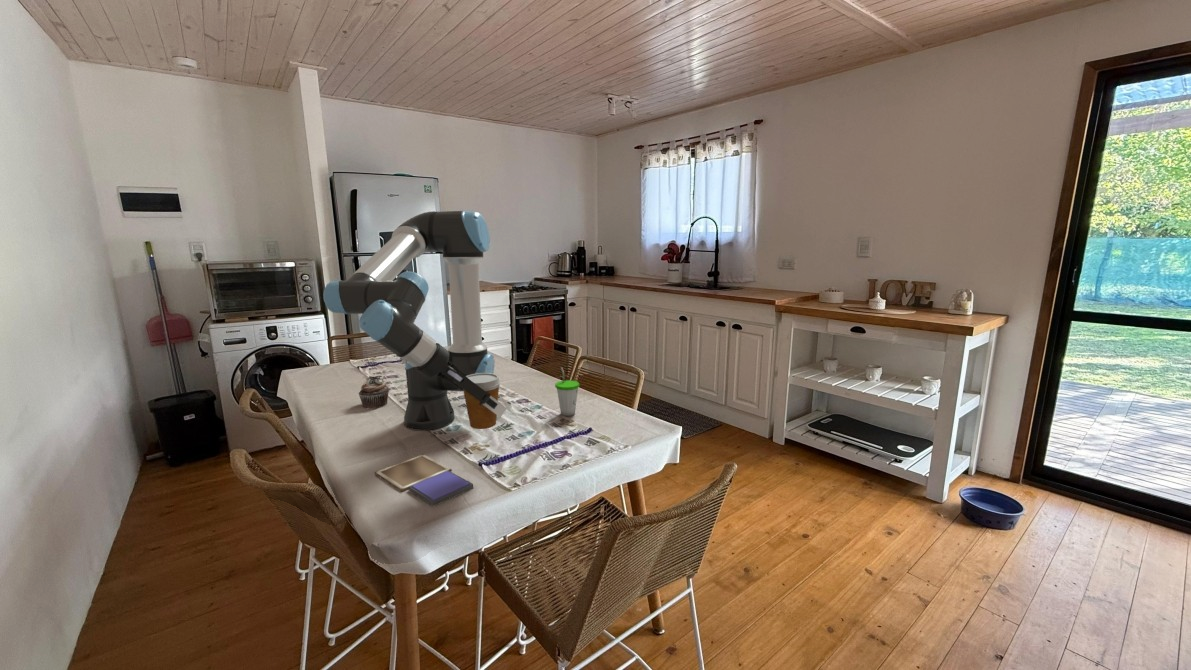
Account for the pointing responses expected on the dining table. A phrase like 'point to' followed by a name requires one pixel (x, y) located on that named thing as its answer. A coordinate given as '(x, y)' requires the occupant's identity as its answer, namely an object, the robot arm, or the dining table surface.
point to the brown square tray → (411, 472)
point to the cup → (567, 395)
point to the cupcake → (374, 392)
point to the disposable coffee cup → (479, 414)
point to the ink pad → (440, 487)
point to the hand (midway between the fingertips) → (494, 407)
